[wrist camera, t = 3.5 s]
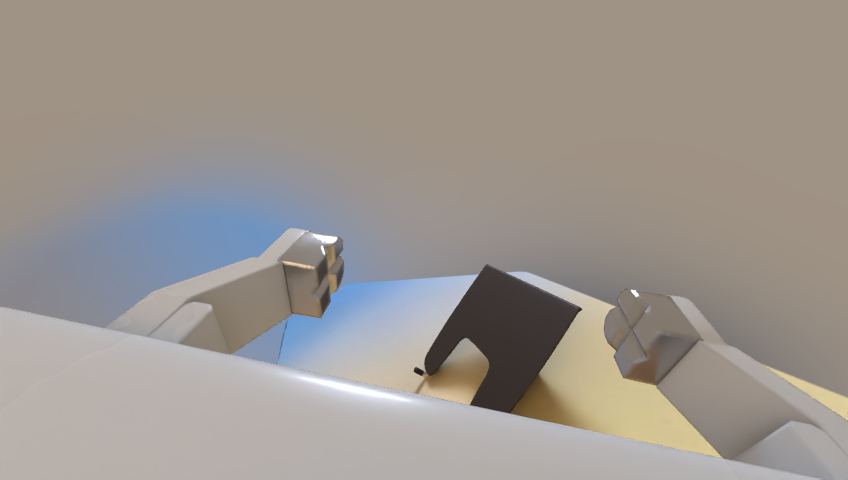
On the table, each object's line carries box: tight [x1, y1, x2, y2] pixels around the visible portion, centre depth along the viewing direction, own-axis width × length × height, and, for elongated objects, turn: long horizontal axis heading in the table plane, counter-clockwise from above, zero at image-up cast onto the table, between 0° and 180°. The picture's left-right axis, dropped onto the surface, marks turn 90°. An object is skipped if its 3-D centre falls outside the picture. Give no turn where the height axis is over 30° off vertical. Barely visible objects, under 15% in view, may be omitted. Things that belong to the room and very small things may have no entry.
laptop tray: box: [414, 264, 582, 414], centre depth 48 cm, size 23×23×9 cm
